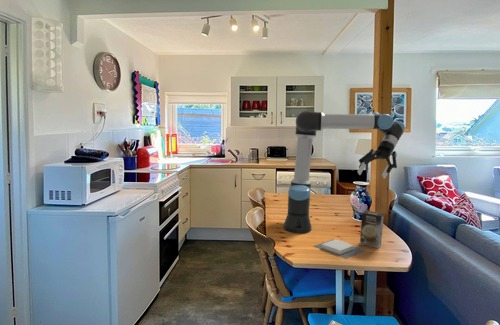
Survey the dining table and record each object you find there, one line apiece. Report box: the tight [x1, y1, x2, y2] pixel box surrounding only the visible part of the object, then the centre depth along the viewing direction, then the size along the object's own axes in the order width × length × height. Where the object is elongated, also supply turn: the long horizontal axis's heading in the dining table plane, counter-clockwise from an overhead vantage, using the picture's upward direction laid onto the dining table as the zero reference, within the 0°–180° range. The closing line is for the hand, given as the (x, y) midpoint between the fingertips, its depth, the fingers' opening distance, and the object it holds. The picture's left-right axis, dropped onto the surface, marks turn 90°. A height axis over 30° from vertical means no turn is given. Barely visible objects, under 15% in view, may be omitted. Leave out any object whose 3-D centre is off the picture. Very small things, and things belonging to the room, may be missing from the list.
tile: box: [322, 238, 355, 255], centre depth 154 cm, size 10×2×11 cm
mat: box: [312, 239, 366, 260], centre depth 155 cm, size 18×16×1 cm
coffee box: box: [359, 209, 385, 249], centre depth 161 cm, size 9×6×16 cm
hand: (370, 175), depth 170 cm, fingers open, 13 cm apart
